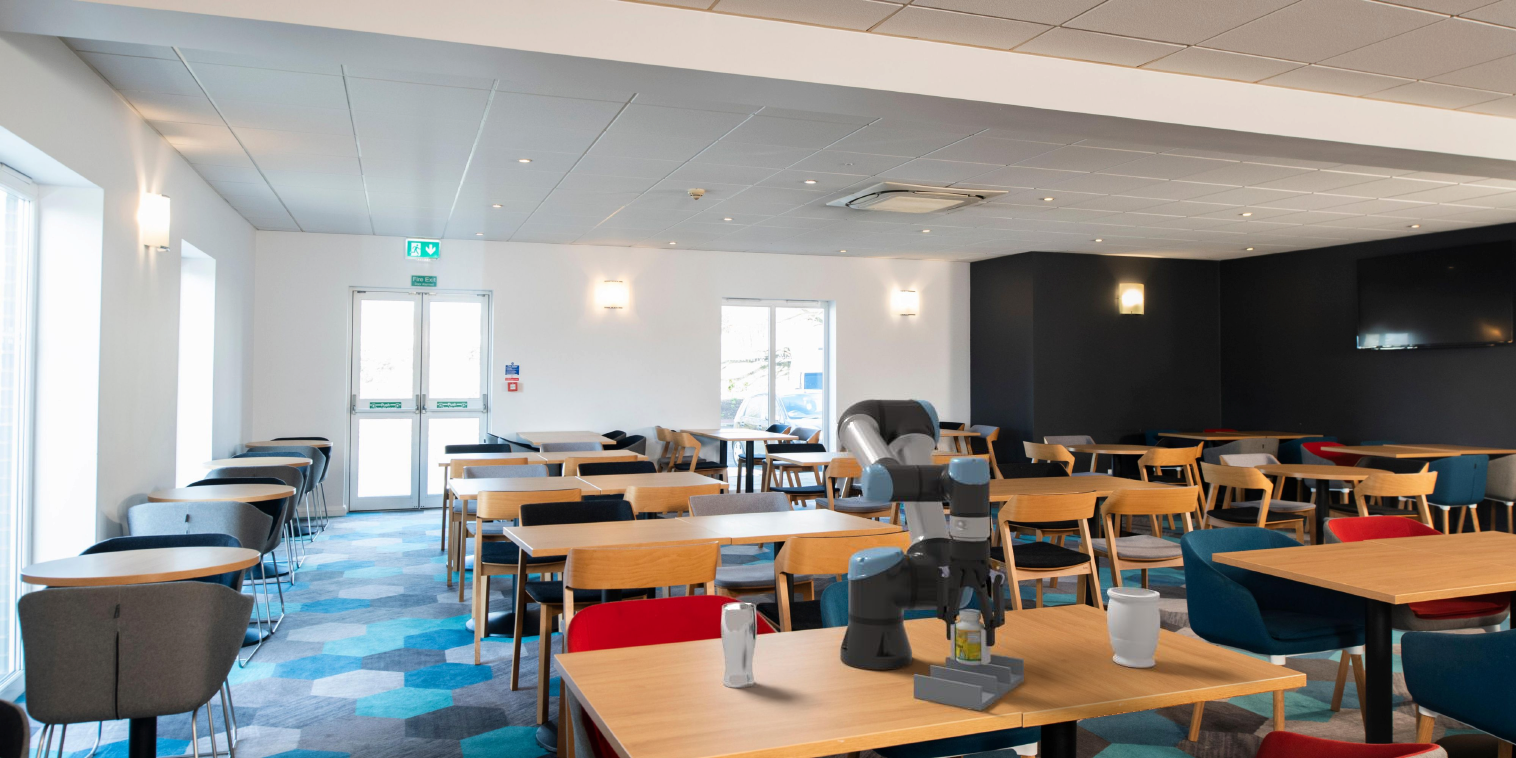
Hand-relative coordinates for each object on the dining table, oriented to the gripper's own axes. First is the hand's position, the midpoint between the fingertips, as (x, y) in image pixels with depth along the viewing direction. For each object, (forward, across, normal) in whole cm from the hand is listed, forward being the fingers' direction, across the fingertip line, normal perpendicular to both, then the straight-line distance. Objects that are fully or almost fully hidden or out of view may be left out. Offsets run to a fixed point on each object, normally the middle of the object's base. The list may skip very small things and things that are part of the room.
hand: (970, 659), depth 174 cm
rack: (+6, 0, 0) cm, 6 cm away
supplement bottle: (+1, 0, 0) cm, 1 cm away
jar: (+6, +21, +37) cm, 43 cm away
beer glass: (+6, -38, -23) cm, 45 cm away
